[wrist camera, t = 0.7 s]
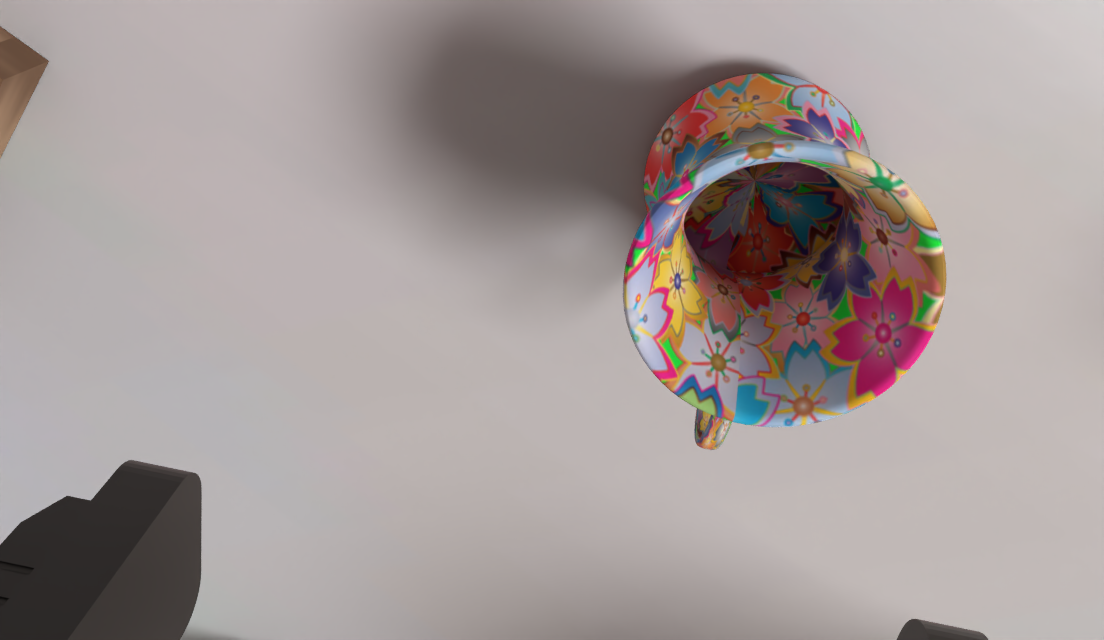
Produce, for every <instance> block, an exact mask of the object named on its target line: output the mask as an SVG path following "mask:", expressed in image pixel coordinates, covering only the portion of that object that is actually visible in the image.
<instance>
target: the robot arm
mask: <svg viewBox="0 0 1104 640" xmlns="http://www.w3.org/2000/svg"><path fill="white" fill-rule="evenodd" d="M200 580H201V481H200V478H199V476H198V475H197V474H196V473H192V472H187V471H182V470H177V469H173V468H168V467H163V466H158V465H153V464H148V463H143V462H139V461H134V460H129V461H127V462H125V463H123V464H122V465H121V466H120V467H119V468H118V469H117V470H116V471H115V473H114V474H113V475H112V476H111V477H110V479H109V480H108V481H107V482H106V483H105V485H104V486H103V487H102V488H101V489H100V491H99V492H98V493H97V494H96V495H95V496H94V498H93V499H92V500H91V501H90V500H85V499H80V498H75V497H70V496H66V497H64V498H63V499H61V500H59V501H57V502H56V503H54V504H52V505H50V506H49V507H47V508H45V509H43V510H42V511H40V512H38V513H36V514H35V515H33V516H31V517H30V518H28V519H26V520H24V521H23V522H21V523H20V524H19V525H18V526H17V527H16V528H15V529H14V530H13V532H12V533H11V534H10V535H9V536H8V537H7V538H6V539H5V540H4V541H3V543H2V544H1V545H0V640H180V638H181V637H182V635H183V633H184V631H185V629H186V627H187V625H188V623H189V621H190V618H191V616H192V613H193V610H194V607H195V604H196V600H197V596H198V592H199V587H200ZM897 640H988V639H987V637H986V636H985V635H984V634H983V633H980V632H977V631H972V630H967V629H962V628H958V627H953V626H948V625H943V624H938V623H933V622H928V621H923V620H919V619H911V620H909V621H908V622H907V623H906V624H905V625H904V627H903V628H902V630H901V632H900V634H899V636H898V638H897Z"/></svg>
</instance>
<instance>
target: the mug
mask: <svg viewBox="0 0 1104 640" xmlns="http://www.w3.org/2000/svg"><path fill="white" fill-rule="evenodd" d="M644 197H645V203H646V208H647V212H648V214H647V216H646V217H645V219H644V220H643V222H642V224H641V225H640V227H639V229H638V231H637V233H636V235H635V238H634V240H633V242H632V245H631V248H630V251H629V254H628V258H627V262H626V266H625V273H624V280H623V302H624V311H625V316H626V321H627V325H628V328H629V331H630V334H631V337H632V339H633V342H634V344H635V346H636V348H637V350H638V352H639V354H640V355H641V357H642V359H643V360H644V362H645V363H646V364H647V366H648V367H649V369H650V370H651V371H652V372H653V373H654V375H655V376H656V377H657V378H658V379H659V380H660V381H661V382H662V383H663V384H664V385H665V386H666V387H667V388H668V389H669V390H670V391H672V392H673V393H674V394H676V395H677V396H678V397H680V398H681V399H682V400H684V401H686V402H687V403H689V404H690V405H692V406H694V407H696V408H697V410H696V419H695V441H696V444H697V445H698V446H699V447H701V448H704V449H709V450H715V449H717V448H719V447H720V445H721V444H722V443H723V441H724V439H725V437H726V435H727V433H728V431H729V428H730V426H731V423H732V422H736V423H741V424H745V425H753V426H761V427H791V426H800V425H807V424H812V423H817V422H821V421H824V420H828V419H832V418H835V417H837V416H840V415H843V414H845V413H848V412H850V411H852V410H854V409H856V408H859V407H861V406H862V405H864V404H866V403H868V402H869V401H871V400H873V399H875V398H876V397H877V396H879V395H880V394H882V393H883V392H885V391H886V390H887V389H888V388H890V387H891V386H892V385H893V384H894V383H896V382H897V381H898V380H899V379H900V378H901V377H902V376H903V375H904V374H905V373H906V372H907V371H908V370H909V369H910V367H911V366H912V365H913V364H914V363H915V362H916V360H917V359H918V358H919V356H920V355H921V353H922V352H923V350H924V349H925V347H926V345H927V344H928V342H929V340H930V338H931V336H932V334H933V332H934V330H935V327H936V325H937V323H938V320H939V317H940V313H941V310H942V307H943V302H944V296H945V289H946V263H945V256H944V250H943V246H942V242H941V239H940V236H939V233H938V231H937V228H936V226H935V223H934V221H933V219H932V218H931V216H930V214H929V212H928V210H927V209H926V207H925V206H924V204H923V203H922V202H921V200H920V199H919V197H918V196H917V195H916V194H915V193H914V192H913V190H912V189H911V188H910V187H909V186H908V185H907V184H906V183H905V182H904V181H903V180H902V179H900V178H899V177H898V176H897V175H896V174H895V173H893V172H892V171H890V170H889V169H887V168H886V167H885V166H883V165H882V164H880V163H878V162H876V161H874V160H873V159H871V158H870V153H869V149H868V146H867V142H866V140H865V137H864V135H863V132H862V130H861V128H860V127H859V125H858V123H857V121H856V120H855V119H854V117H853V116H852V114H851V113H850V112H849V111H848V110H847V108H846V107H845V106H844V105H843V104H842V103H841V102H840V101H838V100H837V99H836V98H835V97H834V96H832V95H831V94H830V93H828V92H827V91H825V90H824V89H822V88H820V87H818V86H816V85H814V84H812V83H810V82H807V81H805V80H802V79H799V78H796V77H792V76H787V75H781V74H772V73H757V74H747V75H741V76H736V77H732V78H729V79H725V80H723V81H720V82H718V83H715V84H713V85H711V86H709V87H707V88H705V89H703V90H701V91H700V92H698V93H697V94H695V95H693V96H692V97H691V98H689V99H688V100H687V101H686V102H684V103H683V104H682V105H681V106H680V107H679V108H678V109H677V110H676V111H675V112H674V113H673V114H672V115H671V116H670V117H669V118H668V120H667V121H666V123H665V124H664V125H663V127H662V128H661V130H660V131H659V133H658V135H657V137H656V139H655V141H654V143H653V145H652V147H651V150H650V153H649V156H648V159H647V163H646V168H645V175H644Z"/></svg>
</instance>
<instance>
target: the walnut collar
mask: <svg viewBox="0 0 1104 640" xmlns="http://www.w3.org/2000/svg"><path fill="white" fill-rule="evenodd" d="M48 62H49V61H48V60H46V59H45V58H43V57H42V56H41V55H39V54H38V53H36V52H35V51H34V50H32V49H31V48H29V47H28V46H27V45H25V44H24V43H23V42H21V41H20V40H18V39H17V38H16V37H14V36H13V35H11V34H10V33H9V32H7V31H6V30H4V29H3V28H2V27H0V158H1V156H2V154H3V152H4V150H5V148H6V146H7V144H8V142H9V140H10V138H11V136H12V134H13V132H14V130H15V128H16V126H17V124H18V122H19V120H20V118H21V116H22V114H23V112H24V110H25V108H26V106H27V104H28V102H29V100H30V98H31V96H32V94H33V92H34V90H35V88H36V86H37V84H38V82H39V80H40V78H41V76H42V74H43V72H44V70H45V68H46V66H47V64H48Z"/></svg>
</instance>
